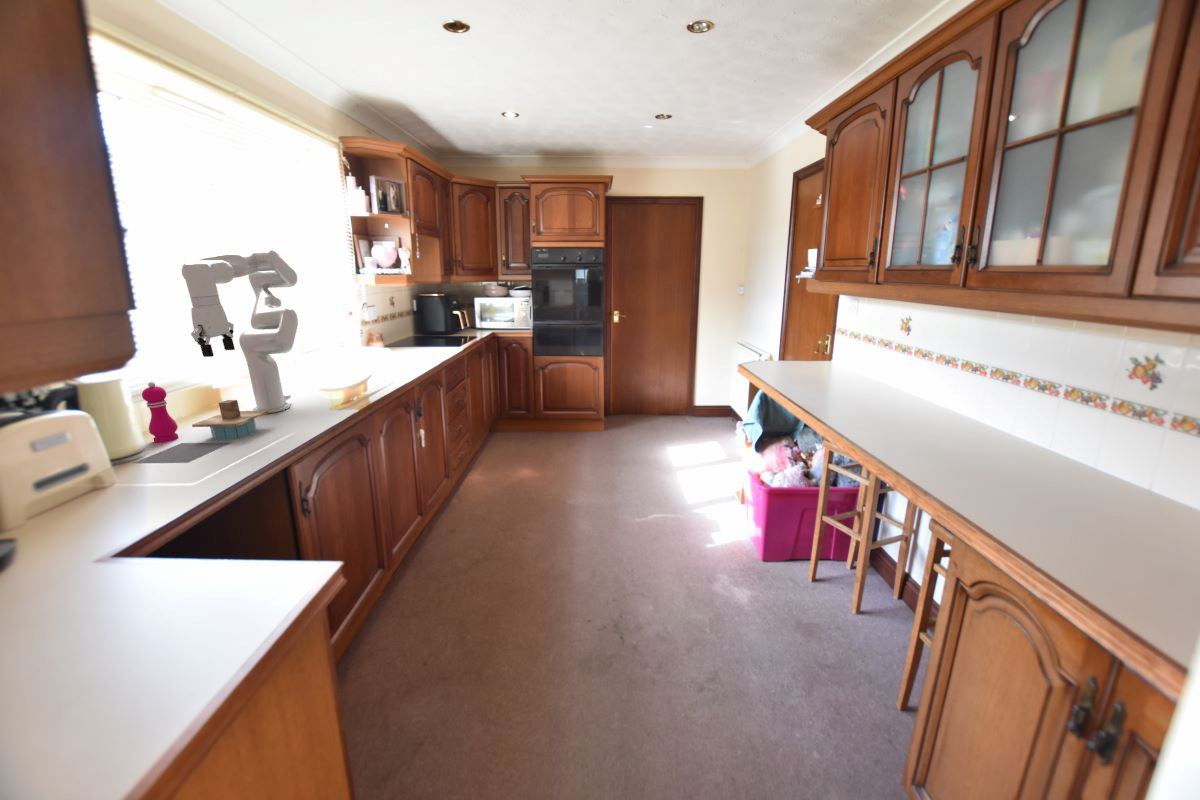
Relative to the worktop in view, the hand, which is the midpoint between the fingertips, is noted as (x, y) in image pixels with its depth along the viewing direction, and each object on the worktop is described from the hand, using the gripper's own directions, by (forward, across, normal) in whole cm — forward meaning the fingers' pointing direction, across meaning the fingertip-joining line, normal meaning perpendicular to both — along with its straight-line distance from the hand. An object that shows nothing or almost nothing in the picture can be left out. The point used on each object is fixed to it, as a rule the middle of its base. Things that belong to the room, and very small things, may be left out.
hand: (219, 353), depth 174 cm
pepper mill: (+27, +13, -15) cm, 33 cm away
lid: (+21, +8, +5) cm, 23 cm away
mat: (+26, +25, +1) cm, 36 cm away
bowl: (+26, +8, +5) cm, 28 cm away
